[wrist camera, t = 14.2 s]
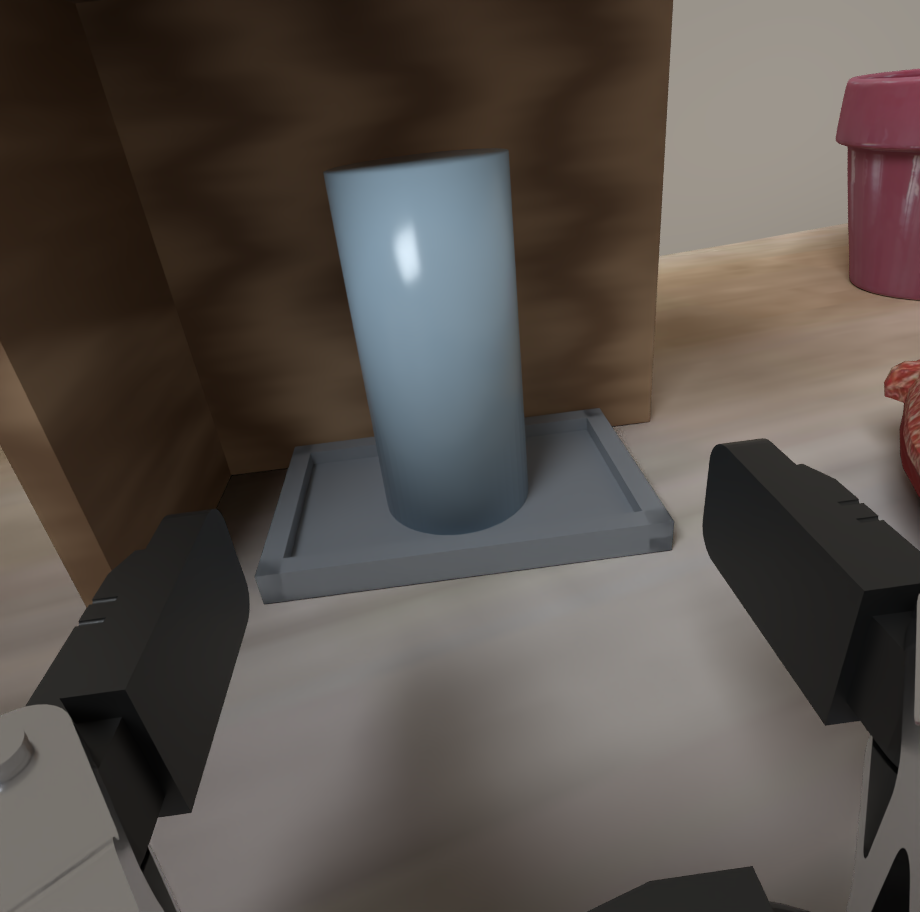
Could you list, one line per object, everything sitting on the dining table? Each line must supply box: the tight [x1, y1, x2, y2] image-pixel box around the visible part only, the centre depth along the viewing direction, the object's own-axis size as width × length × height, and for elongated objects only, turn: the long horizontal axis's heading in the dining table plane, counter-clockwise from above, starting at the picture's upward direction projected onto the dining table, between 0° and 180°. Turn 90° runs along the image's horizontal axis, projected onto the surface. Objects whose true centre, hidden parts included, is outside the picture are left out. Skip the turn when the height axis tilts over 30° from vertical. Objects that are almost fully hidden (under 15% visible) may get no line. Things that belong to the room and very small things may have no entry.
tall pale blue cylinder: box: [323, 148, 528, 535], centre depth 22 cm, size 6×6×12 cm
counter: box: [0, 0, 673, 607], centre depth 20 cm, size 21×12×20 cm, turn 95°
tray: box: [255, 408, 674, 604], centre depth 25 cm, size 14×9×1 cm, turn 95°
